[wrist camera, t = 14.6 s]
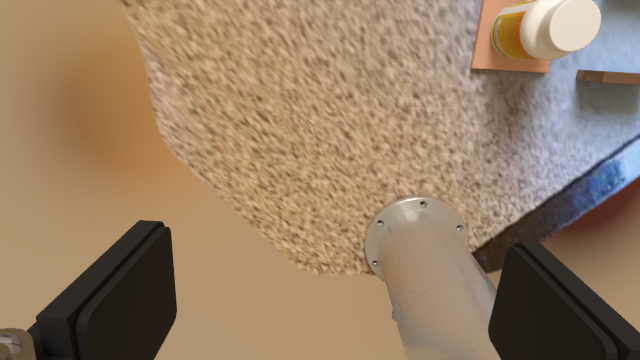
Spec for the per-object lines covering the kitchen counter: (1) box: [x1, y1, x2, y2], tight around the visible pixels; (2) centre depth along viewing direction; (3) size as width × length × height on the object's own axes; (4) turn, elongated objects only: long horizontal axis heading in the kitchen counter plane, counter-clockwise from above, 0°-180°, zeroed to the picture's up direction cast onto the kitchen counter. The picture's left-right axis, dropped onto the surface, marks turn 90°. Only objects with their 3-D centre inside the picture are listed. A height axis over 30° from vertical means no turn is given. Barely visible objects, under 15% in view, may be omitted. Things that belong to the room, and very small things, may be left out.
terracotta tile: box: [470, 0, 551, 73], centre depth 39 cm, size 8×8×1 cm
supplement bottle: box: [491, 0, 601, 60], centre depth 34 cm, size 5×5×10 cm
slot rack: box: [576, 70, 640, 85], centre depth 37 cm, size 11×7×4 cm, turn 177°
